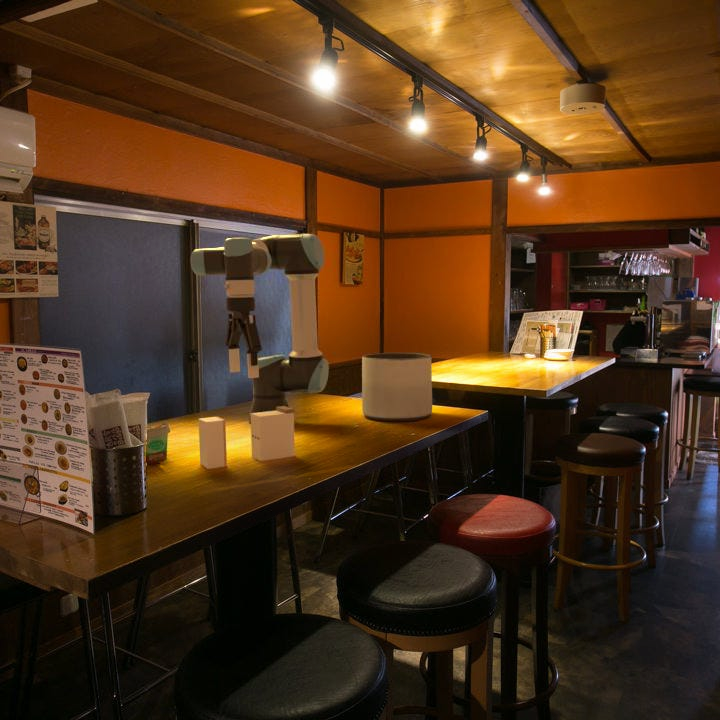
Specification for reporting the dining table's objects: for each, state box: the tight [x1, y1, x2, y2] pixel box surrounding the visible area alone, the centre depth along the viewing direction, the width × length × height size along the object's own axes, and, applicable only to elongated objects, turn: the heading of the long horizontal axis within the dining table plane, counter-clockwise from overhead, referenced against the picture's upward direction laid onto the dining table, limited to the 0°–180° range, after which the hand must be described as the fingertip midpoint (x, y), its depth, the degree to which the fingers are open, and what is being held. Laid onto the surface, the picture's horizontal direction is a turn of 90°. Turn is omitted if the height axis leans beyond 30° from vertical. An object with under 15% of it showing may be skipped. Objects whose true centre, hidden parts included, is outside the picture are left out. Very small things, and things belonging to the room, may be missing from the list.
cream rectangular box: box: [250, 406, 296, 462], centre depth 181 cm, size 6×10×13 cm, turn 122°
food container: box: [146, 421, 171, 467], centre depth 178 cm, size 12×6×10 cm, turn 148°
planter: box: [361, 352, 433, 422], centre depth 242 cm, size 25×25×22 cm
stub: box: [198, 416, 228, 470], centre depth 172 cm, size 6×5×12 cm
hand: (244, 374), depth 182 cm, fingers open, 13 cm apart
